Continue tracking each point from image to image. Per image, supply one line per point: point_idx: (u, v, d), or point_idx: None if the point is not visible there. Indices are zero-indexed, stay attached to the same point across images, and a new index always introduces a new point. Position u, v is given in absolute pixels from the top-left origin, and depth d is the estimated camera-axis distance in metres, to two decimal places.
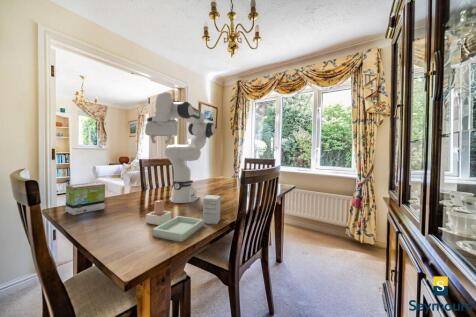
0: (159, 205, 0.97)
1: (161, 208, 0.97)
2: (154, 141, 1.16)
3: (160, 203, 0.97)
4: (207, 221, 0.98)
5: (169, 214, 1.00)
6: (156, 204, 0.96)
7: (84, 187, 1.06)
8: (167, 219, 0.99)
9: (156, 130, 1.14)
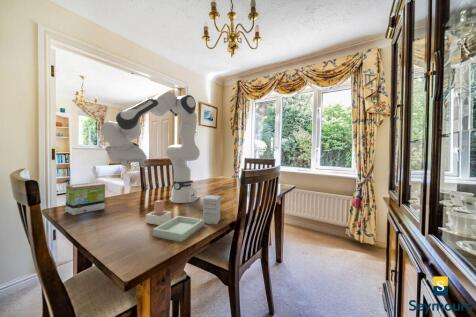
0: (159, 205, 0.97)
1: (161, 208, 0.97)
2: (141, 165, 1.06)
3: (160, 203, 0.97)
4: (207, 221, 0.98)
5: (169, 214, 1.00)
6: (156, 204, 0.96)
7: (84, 187, 1.06)
8: (167, 219, 0.99)
9: None
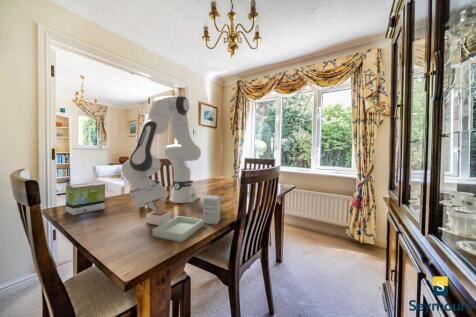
0: (159, 205, 0.97)
1: (161, 208, 0.97)
2: None
3: (160, 203, 0.97)
4: (207, 221, 0.98)
5: (169, 214, 1.00)
6: (156, 204, 0.96)
7: (84, 187, 1.06)
8: (167, 219, 0.99)
9: None
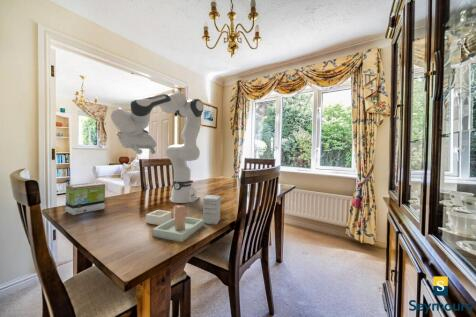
0: (180, 211, 0.86)
1: (183, 214, 0.87)
2: (151, 151, 1.06)
3: (181, 209, 0.86)
4: (207, 221, 0.98)
5: (169, 214, 1.00)
6: (177, 210, 0.86)
7: (84, 187, 1.06)
8: (167, 219, 0.99)
9: None
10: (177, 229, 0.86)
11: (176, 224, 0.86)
